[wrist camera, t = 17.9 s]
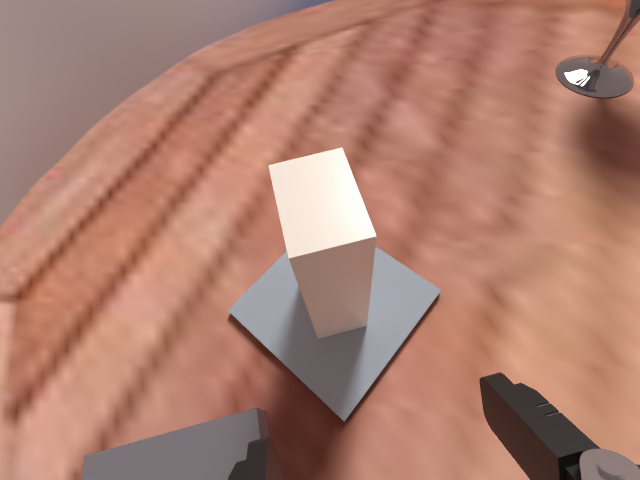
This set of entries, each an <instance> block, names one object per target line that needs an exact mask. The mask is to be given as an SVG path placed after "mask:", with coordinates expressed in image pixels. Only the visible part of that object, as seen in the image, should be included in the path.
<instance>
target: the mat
mask: <svg viewBox="0 0 640 480" xmlns="http://www.w3.org/2000/svg"><path fill="white" fill-rule="evenodd" d="M440 291H441V290H440V289H439V288H437V287H436V286H434V285H433V284H431V283H430V282H428V281H427V280H425V279H424V278H422V277H421V276H419V275H418V274H416V273H415V272H413V271H412V270H410V269H409V268H407V267H406V266H404V265H403V264H401V263H400V262H398V261H397V260H395V259H394V258H392V257H391V256H389V255H388V254H386V253H385V252H383V251H382V250H380V249H379V248H377V247H376V246H375V255H374V265H373V274H372V284H371V293H370V303H369V312H368V322H367V326H365V327H361V328H357V329H354V330H350V331H346V332H342V333H338V334H335V335H331V336H327V337H323V338H320V339H318V338H317V335H316V332H315V329H314V327H313V324H312V321H311V318H310V316H309V313H308V310H307V307H306V305H305V302H304V299H303V296H302V294H301V291H300V288H299V286H298V283H297V280H296V277H295V275H294V272H293V269H292V266H291V264H290V261H289V258H288V253H287V252H286V253H285V254H284V255H283V256H282V257H281V258H280V259H279V260H278V261H277V262H276V263H275V264H274V265H273V266H272V267H271V268H270V269H269V270H268V271H267V272H266V273H265V274H264V275H263V276H262V277H261V278H260V279H259V280H258V281H257V282H256V283H255V284H254V285H253V286H252V287H251V288H250V289H249V290H248V291H247V292H246V293H245V294H244V295H243V296H242V297H241V298H240V299H239V300H238V301H237V302H236V303H235V304H234V305H233V306H232V307H231V308H230V309H229V310H228V311H229V312H230V313H231V314H232V315H233V316H234V317H235V318H236V319H237V320H238V321H239V322H240V323H241V324H242V325H243V326H244V327H245V328H246V329H247V330H249V331H250V332H251V333H252V334H253V335H254V336H255V337H256V338H257V339H258V340H259V341H260V342H261V343H262V344H263V345H264V346H265V347H266V348H267V349H268V350H269V351H270V352H272V353H273V354H274V355H275V356H276V357H277V358H278V359H279V360H280V361H281V362H282V363H283V364H284V365H285V366H286V367H287V368H288V369H289V370H290V371H291V372H292V373H293V374H295V375H296V376H297V377H298V378H299V379H300V380H301V381H302V382H303V383H304V384H305V385H306V386H307V387H308V388H309V389H310V390H311V391H312V392H313V393H314V394H315V395H316V396H318V397H319V398H320V399H321V400H322V401H323V402H324V403H325V404H326V405H327V406H328V407H329V408H330V409H331V410H332V411H333V412H334V413H335V414H336V415H337V416H338V417H340V418H341V419H342V420H343V421H344V422H345V421H346V419H347V418H348V416H349V415H350V414H351V412H352V411H353V410H354V408H355V407H356V406H357V404H358V403H359V402H360V400H361V399H362V398H363V396H364V395H365V393H366V392H367V391H368V389H369V388H370V387H371V385H372V384H373V383H374V381H375V380H376V379H377V377H378V376H379V374H380V373H381V372H382V370H383V369H384V368H385V366H386V365H387V364H388V362H389V361H390V360H391V358H392V357H393V356H394V354H395V353H396V351H397V350H398V349H399V347H400V346H401V345H402V343H403V342H404V341H405V339H406V338H407V337H408V335H409V334H410V332H411V331H412V330H413V328H414V327H415V326H416V324H417V323H418V322H419V320H420V319H421V318H422V316H423V315H424V314H425V312H426V311H427V309H428V308H429V307H430V305H431V304H432V303H433V301H434V300H435V299H436V297H437V296H438V295H439V293H440Z"/></svg>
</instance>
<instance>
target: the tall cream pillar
mask: <svg viewBox="0 0 640 480" xmlns="http://www.w3.org/2000/svg"><path fill="white" fill-rule="evenodd" d="M269 170H270V175H271V179H272V184H273V189H274V193H275V198H276V202H277V207H278V212H279V216H280V221H281V225H282V230H283V235H284V239H285V244H286V249H287V253H288V258H289V261H290V264H291V266H292V269H293V272H294V275H295V277H296V280H297V283H298V286H299V288H300V291H301V294H302V296H303V299H304V302H305V305H306V307H307V310H308V313H309V316H310V318H311V321H312V324H313V327H314V329H315V332H316V335H317V338H318V339H320V338H323V337H327V336H331V335H335V334H338V333H342V332H346V331H350V330H354V329H357V328H361V327H365V326H367V322H368V312H369V303H370V293H371V284H372V274H373V265H374V255H375V246H376V234H375V231H374V228H373V226H372V223H371V221H370V218H369V216H368V213H367V210H366V208H365V205H364V203H363V200H362V197H361V195H360V192H359V190H358V187H357V185H356V182H355V179H354V177H353V174H352V172H351V169H350V166H349V164H348V161H347V159H346V156H345V154H344V151H343V148H338V149H334V150H330V151H326V152H322V153H317V154H313V155H309V156H305V157H301V158H297V159H293V160H288V161H284V162H280V163H276V164H272V165H269Z"/></svg>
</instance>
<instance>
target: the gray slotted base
mask: <svg viewBox="0 0 640 480" xmlns="http://www.w3.org/2000/svg"><path fill="white" fill-rule="evenodd" d="M268 436H269V437H270V435H269V428H268V421H267V414H266V411H264V410H261V409H258V408H255V409H251V410H247V411H244V412H240V413H237V414H233V415H230V416H226V417H222V418H219V419H215V420H212V421H208V422H205V423H201V424H197V425H194V426H190V427H187V428H183V429H179V430H176V431H172V432H169V433H165V434H162V435H158V436H154V437H151V438H147V439H144V440H140V441H137V442H133V443H129V444H126V445H122V446H119V447H115V448H111V449H108V450H104V451H101V452H97V453H94V454H90V455H86V456H84V461H83V470H82V480H228V477H229V475H230V473H231V471H232V469H233V468H234V466H235V464H236V462H239V461H243V460H246V457H247V449H248V443H249V442H250V441H254V440H257V439H261V438H264V437H268Z"/></svg>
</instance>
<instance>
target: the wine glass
mask: <svg viewBox="0 0 640 480" xmlns="http://www.w3.org/2000/svg"><path fill="white" fill-rule="evenodd" d="M639 21H640V0H625V7H624V14H623V17H622V20H621V22H620V24H619V26H618V28H617V30H616V32H615V34H614V36H613V38H612V40H611V42H610V43H609V45H608V47H607V48H606V50H605V52H604V53H603V55H602V56H597V55H577V56H572V57H569V58H566V59H564V60H563V61H561V62H560V63H559V64H558V66H557V68H556V75H557V78H558V79H559V81H560V82H561V83H562V84H563V85H564V86H566V87H567V88H569V89H570V90H572V91H574V92H577V93H579V94H582V95H586V96H590V97H597V98H611V97H617V96H620V95H623V94H625V93H627V92H628V91H630V90H631V88H632V87H633V84H634V77H633V75H632V73H631V72H630V71H629V70H628V69H627V68H626V67H625V66H624V65H622V64H620V63H619V62H617V61H614V60H612V59H610V58H611V56H612V55H613V53H614V52H615V50H616V49H617V47H618V46H619V45H620V43H621V42H622V41H623V39H624V38H625V37H626V36H627V35H628V33H629V32H630V31H631V30H632V29H633V27H634V26H635V25H636V24H637V23H638V22H639Z"/></svg>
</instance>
